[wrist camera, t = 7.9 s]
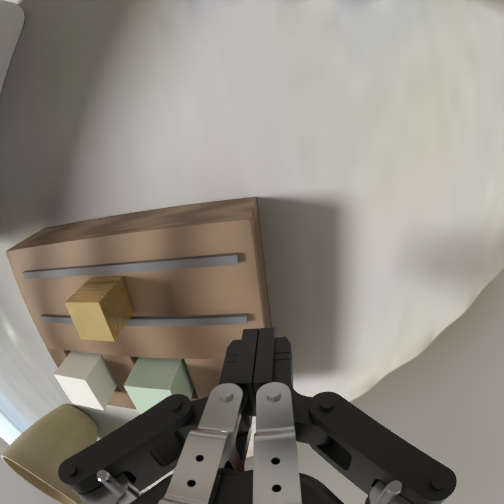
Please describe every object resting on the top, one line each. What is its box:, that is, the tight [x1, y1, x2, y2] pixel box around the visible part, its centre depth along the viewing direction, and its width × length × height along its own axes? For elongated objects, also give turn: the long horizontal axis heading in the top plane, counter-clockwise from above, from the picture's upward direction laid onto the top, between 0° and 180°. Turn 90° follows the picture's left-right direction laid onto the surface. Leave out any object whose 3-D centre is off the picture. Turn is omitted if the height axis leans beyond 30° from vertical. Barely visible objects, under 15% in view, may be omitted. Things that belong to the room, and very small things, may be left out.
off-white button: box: [54, 351, 117, 410], centre depth 24 cm, size 4×4×5 cm
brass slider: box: [65, 276, 134, 342], centre depth 19 cm, size 3×3×4 cm
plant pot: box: [1, 404, 97, 504], centre depth 32 cm, size 15×15×16 cm
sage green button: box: [124, 357, 194, 414], centre depth 23 cm, size 4×4×5 cm
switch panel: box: [6, 197, 272, 409], centre depth 25 cm, size 22×18×6 cm
